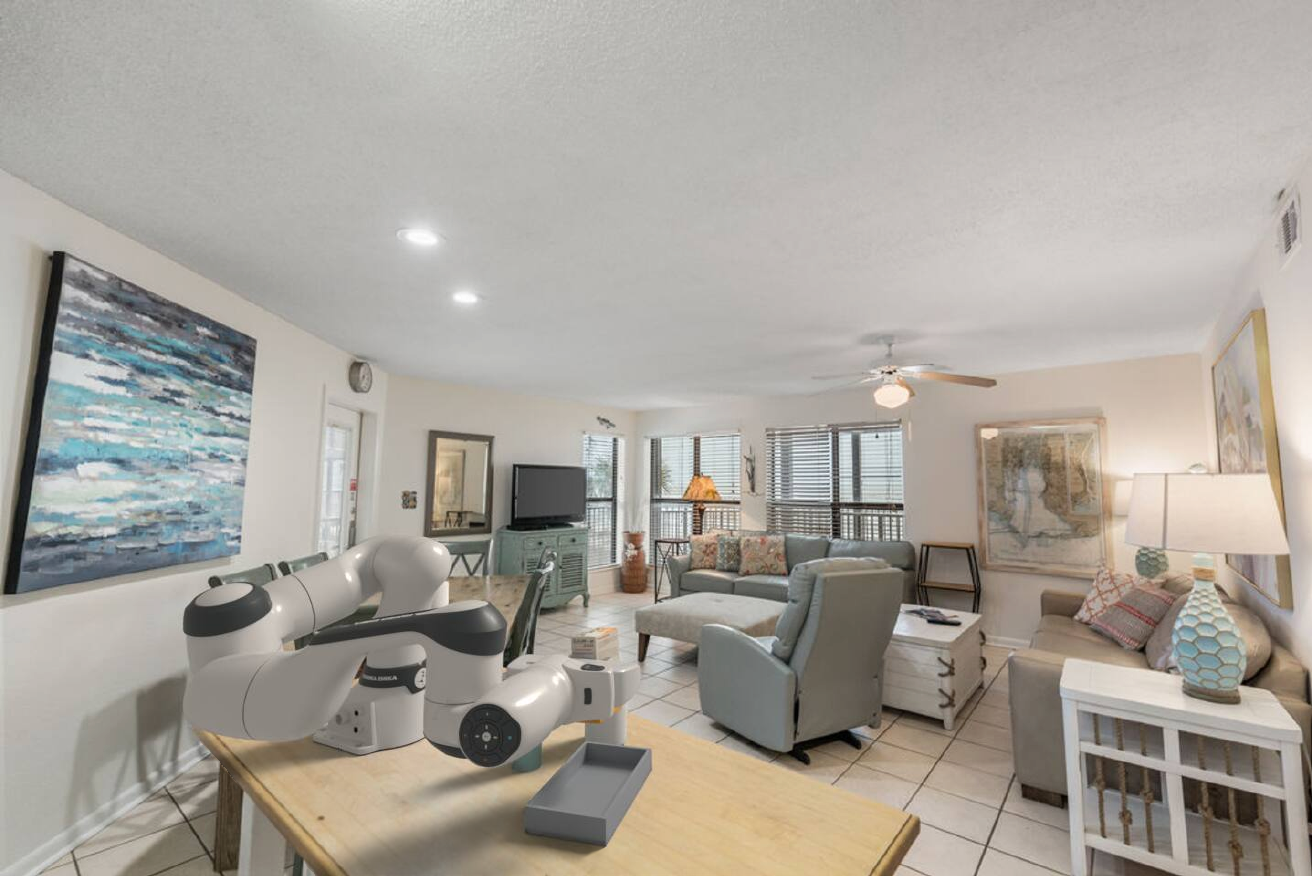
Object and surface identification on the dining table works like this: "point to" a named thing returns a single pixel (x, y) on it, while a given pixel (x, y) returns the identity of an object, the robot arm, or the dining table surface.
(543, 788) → the tote
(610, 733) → the pill bottle
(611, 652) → the supplement box
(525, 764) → the candle
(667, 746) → the dining table surface
